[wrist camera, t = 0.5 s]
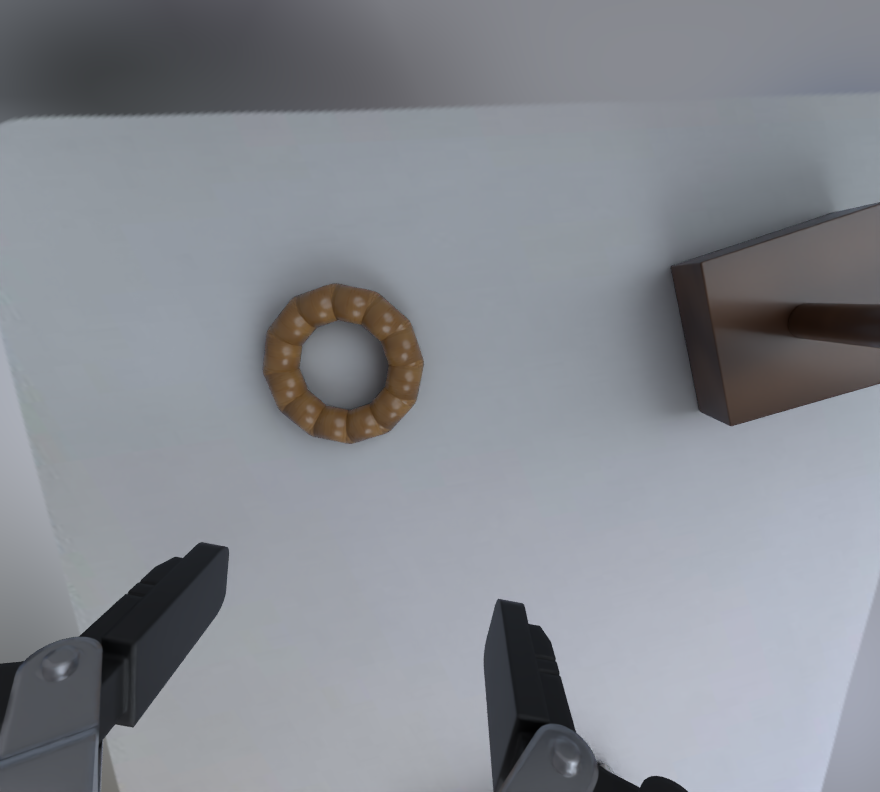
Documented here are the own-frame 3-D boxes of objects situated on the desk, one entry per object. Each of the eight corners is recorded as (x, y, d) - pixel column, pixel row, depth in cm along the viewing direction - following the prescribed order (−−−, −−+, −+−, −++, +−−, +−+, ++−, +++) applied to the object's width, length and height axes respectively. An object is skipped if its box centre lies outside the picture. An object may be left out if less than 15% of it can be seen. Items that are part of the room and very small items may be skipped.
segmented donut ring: (248, 315, 25) (231, 316, 23) (392, 264, 24) (387, 261, 22) (307, 452, 27) (295, 465, 25) (442, 410, 26) (441, 419, 24)
